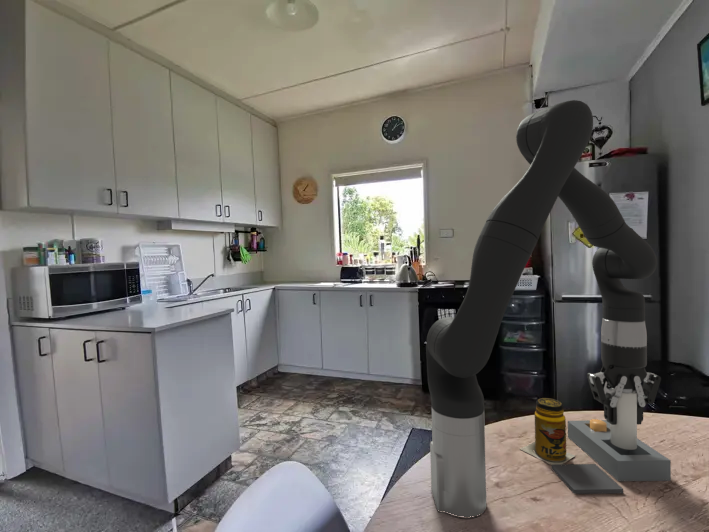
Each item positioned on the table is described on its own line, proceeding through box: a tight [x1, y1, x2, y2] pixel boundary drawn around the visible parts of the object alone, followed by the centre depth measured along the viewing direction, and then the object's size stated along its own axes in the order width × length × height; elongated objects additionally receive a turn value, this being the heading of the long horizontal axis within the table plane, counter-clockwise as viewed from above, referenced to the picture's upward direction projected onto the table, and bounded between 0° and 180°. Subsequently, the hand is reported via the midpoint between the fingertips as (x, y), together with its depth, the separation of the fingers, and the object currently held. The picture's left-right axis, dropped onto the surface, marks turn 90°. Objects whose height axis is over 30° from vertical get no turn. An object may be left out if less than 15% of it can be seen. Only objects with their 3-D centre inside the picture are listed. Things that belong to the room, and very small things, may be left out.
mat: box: [550, 463, 624, 495], centre depth 70 cm, size 9×8×1 cm
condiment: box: [519, 397, 576, 466], centre depth 79 cm, size 7×8×12 cm
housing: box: [567, 419, 672, 482], centre depth 77 cm, size 10×17×4 cm, turn 179°
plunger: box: [590, 418, 607, 432], centre depth 82 cm, size 3×3×5 cm
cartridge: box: [610, 388, 638, 450], centre depth 74 cm, size 4×4×12 cm
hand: (623, 422), depth 74 cm, fingers closed on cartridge, 4 cm apart
